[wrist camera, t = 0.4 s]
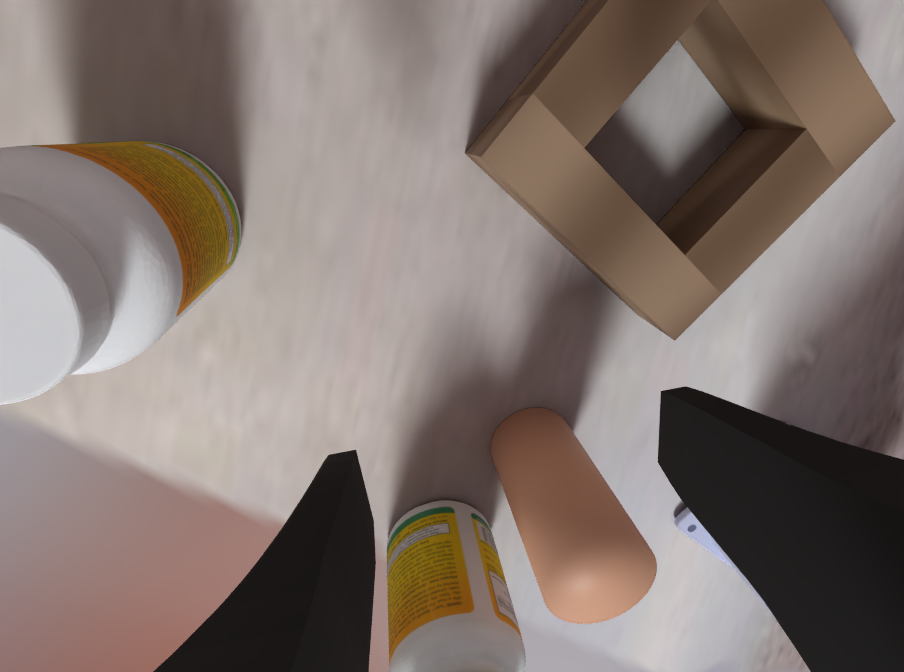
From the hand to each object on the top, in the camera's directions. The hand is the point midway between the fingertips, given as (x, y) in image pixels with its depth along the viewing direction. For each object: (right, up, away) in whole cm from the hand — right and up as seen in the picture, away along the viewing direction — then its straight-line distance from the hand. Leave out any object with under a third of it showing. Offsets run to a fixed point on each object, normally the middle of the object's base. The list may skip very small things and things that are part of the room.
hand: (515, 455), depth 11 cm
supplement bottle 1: (-12, +7, +6) cm, 15 cm away
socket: (+6, +10, +8) cm, 14 cm away
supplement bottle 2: (-2, -8, +14) cm, 16 cm away
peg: (+2, -2, +12) cm, 13 cm away
